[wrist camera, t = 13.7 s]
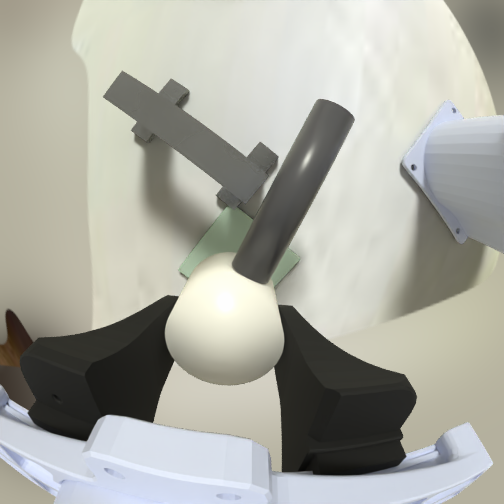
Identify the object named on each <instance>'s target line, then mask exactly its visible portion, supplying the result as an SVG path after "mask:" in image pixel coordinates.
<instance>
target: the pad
mask: <svg viewBox="0 0 504 504" xmlns="http://www.w3.org/2000/svg"><path fill="white" fill-rule="evenodd" d="M252 222H253V219H252V218H251V217H249V216H248V215H247V214H246V213H244V212H243V211H242V210H241V209H239V208H238V207H236V209H235V210H233V209H232V208H231V207H230V206H227V207H226V208H225V210H224V211H223V212H222V213H221V215H220V216H219V217H218V218H217V220H216V221H215V222H214V223H213V225H212V226H211V227H210V228H209V230H208V231H207V232H206V234H205V235H204V236H203V237H202V239H201V240H200V241H199V243H198V244H197V245H196V247H195V248H194V249H193V251H192V252H191V253H190V254H189V256H188V257H187V258H186V260H185V261H184V262H183V264H182V265H181V266H180V268H179V269H178V270H179V271H180V272H181V273H183V274H184V275H185V276H187V277H188V278H189V277H190V275H191V273H192V271H193V270H194V268H195V267H196V266H197V265H198V264H199V263H200V262H201V261H203V260H204V259H206V258H208V257H209V256H212V255H214V254H218V253H224V252H235V253H237V251H238V249H239V247H240V245H241V243H242V242H243V240H244V238H245V236H246V234H247V232H248V230H249V228H250V226H251V224H252ZM299 260H300V258H299V257H298V256H297V255H296V254H295V253H294V252H292V251H291V250H290V249H289V248H287V250H286V252H285V254H284V255H283V257H282V259H281V261H280V263H279V264H278V266H277V268H276V270H275V272H274V273H273V275H272V277H271V279H272V281H273V285H274V287H275V286H276V285H277V284H278V283H279V282H280V281H281V280H282V278H283V277H284V276H285V275H286V274H287V273H288V272H289V271H290V270H291V269H292V268H293V267H294V265H295V264H296V263H297V262H298V261H299Z"/></svg>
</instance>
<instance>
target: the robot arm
mask: <svg viewBox="0 0 504 504" xmlns="http://www.w3.org/2000/svg"><path fill="white" fill-rule="evenodd" d="M452 109H453V112H452ZM402 165H403V167H404V168H405V169H406V170H407V172H408V173H409V174H410V175H411V177H412V178H413V179H414V180H415V182H416V183H417V184H418V185H419V187H420V188H421V189H422V191H423V192H424V193H425V195H426V196H427V197H428V199H429V200H430V201H431V203H432V204H433V206H434V207H435V208H436V210H437V211H438V213H439V214H440V216H441V217H442V219H443V220H444V222H445V223H446V225H447V226H448V228H449V229H450V231H451V232H452V234H453V236H454V237H455V239H456V241H457V242H458V243H460V244H463V243H464V242H465V241H466V239H467V238H468V237H469V238H472V239H474V240H476V241H478V242H480V243H483V244H485V245H487V246H489V247H491V248H493V249H495V250H497V251H499V252H501V253H503V254H504V115H497V116H486V117H476V118H468V119H464V118H463V116H462V115H461V114H460V112H459V111H458V109H457V108H456V107H455V105H454V104H453V103H452V101H450V100H446V101H444V103H443V104H442V106H441V107H440V108H439V110H438V111H437V113H436V114H435V115H434V117H433V118H432V120H431V121H430V122H429V124H428V125H427V127H426V128H425V129H424V131H423V132H422V133H421V135H420V136H419V137H418V139H417V140H416V141H415V143H414V144H413V145H412V147H411V148H410V149H409V151H408V152H407V153H406V154H405V156H404V157H403V159H402ZM411 165H413V166H414V170H413V171H412V169H411ZM456 230H457V232H456ZM178 298H179V296H170V295H167V296H165V297H163V298H161V299H159V300H158V301H156V302H154V303H153V304H151V305H149V306H148V307H146V308H144V309H142V310H141V311H139V312H137V313H135V314H133V315H131V316H129V317H127V318H125V319H123V320H121V321H119V322H116V323H114V324H111V325H109V326H106V327H103V328H100V329H96V330H93V331H89V332H86V333H80V334H75V335H69V336H61V337H44V338H38V339H37V340H36V341H35V342H34V343H33V344H32V345H31V346H30V347H29V348H28V349H27V350H26V351H25V352H24V353H23V354H22V355H21V357H20V366H21V370H22V373H23V375H24V378H25V379H26V381H27V383H28V385H29V387H30V389H31V391H32V393H33V395H34V396H35V398H36V402H35V403H34V405H33V406H32V407H31V409H30V410H29V411H28V410H27V409H25V408H23V407H21V406H20V405H18V404H17V403H15V402H13V401H12V400H10V399H9V397H8V395H7V393H6V391H5V390H4V388H3V387H2V386H1V385H0V457H1V458H2V459H3V460H4V461H5V462H7V463H8V464H9V465H10V466H12V467H13V468H14V469H16V470H17V471H18V472H20V473H21V474H22V475H24V476H25V477H26V478H28V479H29V480H31V481H32V482H33V483H35V484H36V485H38V486H39V487H41V488H43V489H44V490H46V491H47V492H49V493H50V494H52V495H54V496H55V497H56V499H55V501H54V504H441V503H443V502H445V501H447V500H449V499H451V498H453V497H454V496H456V495H457V494H459V493H460V492H461V491H462V490H464V489H465V488H466V487H467V486H469V485H470V484H471V483H472V482H474V481H475V480H476V479H477V478H478V477H479V476H481V475H482V474H483V473H484V472H485V471H486V470H487V469H488V468H489V467H491V466H492V464H493V462H492V460H491V458H490V457H489V455H488V453H487V451H486V450H485V448H484V446H483V444H482V443H481V441H480V439H479V438H478V436H477V435H476V433H475V431H474V430H473V428H472V427H471V425H470V424H469V422H466V423H464V424H462V425H459V426H457V427H454V428H451V429H450V430H448V431H446V432H445V433H444V434H443V435H442V436H441V437H440V438H439V439H438V440H437V442H436V444H434V445H431V446H428V447H425V448H422V449H419V450H416V451H413V452H409V453H406V454H405V452H404V449H403V447H402V445H401V442H400V440H401V439H402V438H403V434H402V432H401V430H400V428H401V427H402V425H403V424H404V422H405V421H406V419H407V418H408V416H409V415H410V413H411V412H412V410H413V408H414V406H415V404H416V399H417V396H416V393H415V390H414V389H413V387H412V386H411V384H410V382H409V381H408V379H407V378H406V376H405V375H404V374H400V373H397V372H393V371H389V370H386V369H382V368H380V367H377V366H374V365H372V364H369V363H366V362H364V361H362V360H360V359H358V358H356V357H354V356H352V355H350V354H348V353H347V352H345V351H343V350H342V349H340V348H339V347H337V346H336V345H334V344H333V343H331V342H330V341H329V340H327V339H326V338H325V337H324V336H322V335H321V334H320V333H319V332H318V331H317V330H315V329H314V328H313V327H312V326H311V325H310V324H309V323H308V322H307V321H306V320H305V319H304V318H303V317H302V316H301V315H300V314H299V312H298V311H297V310H296V309H295V308H294V307H293V306H288V305H278V308H279V313H280V318H281V323H282V328H283V332H284V348H283V352H282V354H281V357H280V359H279V360H278V362H277V363H276V365H275V366H274V368H275V375H276V380H277V386H278V392H279V398H280V405H281V428H282V472H275V471H272V470H271V457H270V454H269V451H268V449H267V448H266V447H264V446H262V445H260V444H258V443H256V442H255V441H253V440H251V439H249V438H243V437H239V436H234V435H229V434H220V433H210V432H202V431H195V430H188V429H182V428H176V427H171V426H165V425H160V424H156V423H153V421H154V417H155V413H156V409H157V405H158V401H159V398H160V394H161V391H162V388H163V386H164V384H165V381H166V379H167V377H168V374H169V371H170V370H171V367H172V365H173V363H174V359H173V357H172V356H171V354H170V352H169V350H168V347H167V344H166V339H165V328H166V323H167V320H168V317H169V316H170V314H171V312H172V310H173V308H174V306H175V304H176V302H177V300H178Z"/></svg>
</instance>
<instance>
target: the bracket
mask: <svg viewBox="0 0 504 504" xmlns="http://www.w3.org/2000/svg"><path fill="white" fill-rule="evenodd" d="M188 93H189V90H188V89H187V88H185V87H184V86H182V85H181V84H179V83H177V82H176V81H174V80H173V79H170V80H169V82H168V83H167V84H166V85H165V86H164V88H163V89H162V90H161V91H160V92H159V94H158V93H157V92H155V91H154V90H152V89H151V88H149V87H148V86H146V85H144V84H143V83H141V82H140V81H138V80H137V79H135V78H133V77H132V76H130V75H128V74H127V73H125V72H124V71H122V72H121V73H120V74H119V76H118V77H117V78H116V80H115V81H114V82H113V84H112V85H111V86H110V88H109V89H108V90H107V92H106V93H105V95H104V96H103V97H104V98H105V99H106V100H108V101H109V102H111V103H112V104H114V105H115V106H116V107H118V108H119V109H121V110H122V111H123V112H125V113H126V114H128V115H129V116H130V117H132V118H133V119H135V120H136V121H137V123H136V124H135V126H134V127H133V128H132V130H131V131H132V132H134V133H135V134H136V135H138V136H139V137H140V138H142V139H143V140H144V141H146V142H149V143H150V141H151V140H152V138H153V137H154V136H155V135H156V136H158V137H159V138H161V139H162V140H163V141H165V142H166V143H167V144H169V145H170V146H171V147H173V148H174V149H175V150H177V151H178V152H179V153H181V154H182V155H183V156H185V157H186V158H187V159H188V160H190V161H191V162H192V163H194V164H195V165H196V166H198V167H199V168H200V169H201V170H203V171H204V172H205V173H207V174H208V175H209V176H211V177H212V178H213V179H214V180H216V181H217V182H218V183H219V184H221V185H222V186H223V187H222V188H221V190H220V191H219V192H218V193H217V195H216V196H217V197H218V198H220V199H221V200H222V201H223V202H225V203H226V204H227V205H228V206H230V207H231V208H232V209H233V210H235V209H236V207H237V206H238V205H239V204H240V202H241V201H242V202H243V203H245V204H246V203H247V202H248V200H249V199H250V198H251V197H252V196H253V194H254V193H255V192H256V191H257V190H258V188H259V187H260V186H261V185H262V184H263V182H264V181H265V180H266V179H267V178H268V177H269V175H268V174H267V173H266V171H267V170H268V169H269V168H270V167H271V165H272V164H273V163H274V162H275V161H276V160H277V158H278V157H279V156H277V155H276V154H275V153H274V152H272V151H271V150H270V149H269V148H268V147H266V146H265V145H264V144H263V143H261V142H259V144H258V145H257V146H256V147H255V148H254V149H253V151H252V152H251V153H250V154H249V155H248V157H245V156H244V155H243V154H242V153H240V152H239V151H238V150H236V149H235V148H234V147H233V146H231V145H230V144H229V143H227V142H226V141H225V140H223V139H222V138H221V137H219V136H218V135H217V134H215V133H214V132H213V131H211V130H210V129H209V128H207V127H206V126H204V125H203V124H202V123H200V122H199V121H198V120H196V119H195V118H193V117H192V116H191V115H189V114H188V113H186V112H185V111H183V110H182V109H181V108H179V107H178V105H179V103H180V102H181V101H182V100H183V99H184V97H185V96H186V95H187V94H188Z"/></svg>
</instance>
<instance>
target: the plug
mask: <svg viewBox="0 0 504 504" xmlns="http://www.w3.org/2000/svg"><path fill="white" fill-rule="evenodd" d="M354 121H355V119H354V117H353V115H352V114H351V113H350V112H349V111H348V110H346V109H345V108H343V107H342V106H340V105H338V104H336V103H334V102H332V101H329V100H324V99H318V100H317V101H316V102H315V104H314V106H313V108H312V110H311V112H310V114H309V115H308V117H307V119H306V121H305V123H304V125H303V127H302V129H301V130H300V132H299V134H298V136H297V138H296V140H295V142H294V144H293V145H292V147H291V149H290V151H289V153H288V155H287V157H286V159H285V161H284V162H283V164H282V166H281V168H280V170H279V172H278V174H277V176H276V178H275V180H274V182H273V183H272V185H271V187H270V189H269V191H268V193H267V195H266V197H265V199H264V201H263V203H262V205H261V207H260V208H259V210H258V212H257V214H256V216H255V218H254V220H253V222H252V224H251V226H250V228H249V230H248V232H247V234H246V236H245V238H244V240H243V242H242V243H241V245H240V247H239V249H238V251H237V253H235V252H224V253H218V254H214V255H212V256H209V257H208V258H206V259H204V260H203V261H201V262H200V263H199V264H198V265H197V266H196V267H195V268H194V270H193V271H192V273H191V275H190V277H189V279H188V281H187V283H186V284H185V286H184V288H183V290H182V292H181V294H180V296H179V298H178V300H177V302H176V304H175V306H174V308H173V310H172V312H171V314H170V316H169V317H168V320H167V323H166V328H165V339H166V344H167V347H168V350H169V352H170V354H171V356H172V357H173V359H174V360H175V361H176V363H177V364H178V365H179V366H180V367H181V368H182V369H184V370H185V371H186V372H187V373H189V374H190V375H192V376H194V377H196V378H198V379H200V380H202V381H206V382H209V383H213V384H218V385H239V384H244V383H247V382H251V381H254V380H256V379H258V378H260V377H262V376H263V375H265V374H266V373H268V372H269V371H270V370H271V369H272V368H273V367H274V366H275V365H276V363H277V362H278V360H279V359H280V357H281V354H282V352H283V348H284V332H283V328H282V323H281V318H280V313H279V308H278V304H277V299H276V294H275V290H274V285H273V281H272V279H271V277H272V275H273V273H274V272H275V270H276V268H277V266H278V264H279V263H280V261H281V259H282V257H283V255H284V254H285V252H286V250H287V248H288V246H289V245H290V243H291V241H292V239H293V237H294V236H295V234H296V232H297V230H298V228H299V226H300V225H301V223H302V221H303V219H304V217H305V215H306V214H307V212H308V210H309V208H310V206H311V204H312V202H313V200H314V199H315V197H316V195H317V193H318V191H319V189H320V187H321V185H322V184H323V182H324V180H325V178H326V176H327V174H328V172H329V170H330V168H331V166H332V164H333V162H334V160H335V159H336V157H337V155H338V153H339V151H340V149H341V147H342V145H343V143H344V141H345V139H346V137H347V135H348V133H349V131H350V129H351V127H352V125H353V123H354Z"/></svg>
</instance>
